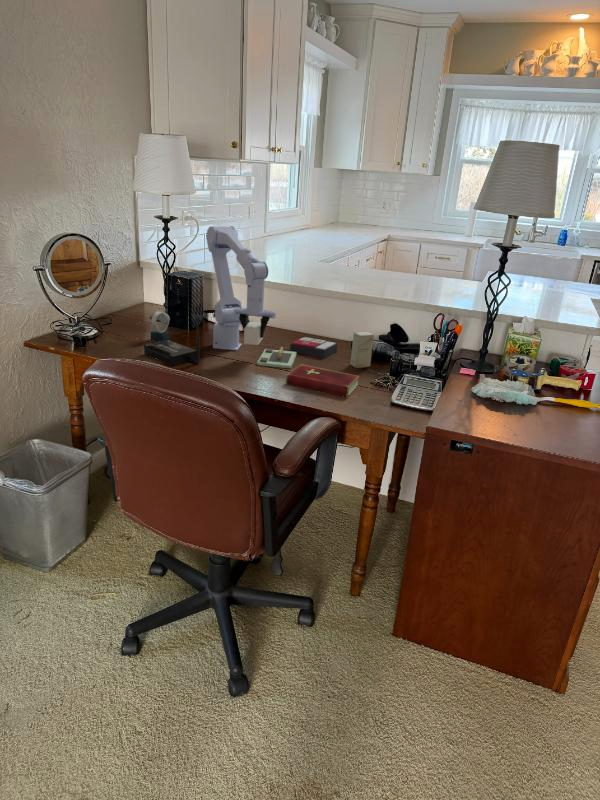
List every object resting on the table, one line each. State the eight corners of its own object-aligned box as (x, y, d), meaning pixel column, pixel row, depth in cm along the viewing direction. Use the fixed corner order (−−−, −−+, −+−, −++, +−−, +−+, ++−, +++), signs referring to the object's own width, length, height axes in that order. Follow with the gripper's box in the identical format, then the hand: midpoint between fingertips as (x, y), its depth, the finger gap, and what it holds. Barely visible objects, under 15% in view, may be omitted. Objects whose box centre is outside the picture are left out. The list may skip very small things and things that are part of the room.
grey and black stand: (140, 356, 197) (138, 308, 190) (172, 348, 207) (171, 303, 200) (176, 371, 185) (175, 321, 179) (208, 362, 195) (208, 315, 189)
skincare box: (356, 368, 199) (359, 335, 195) (349, 364, 203) (353, 332, 198) (370, 366, 202) (374, 334, 198) (363, 362, 206) (367, 330, 201)
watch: (172, 338, 217) (172, 311, 212) (159, 343, 210) (158, 315, 206) (160, 336, 219) (160, 308, 214) (147, 341, 212) (146, 312, 208)
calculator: (303, 336, 221) (337, 341, 214) (303, 346, 223) (337, 352, 216) (289, 342, 212) (324, 348, 205) (289, 353, 214) (324, 359, 207)
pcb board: (257, 365, 195) (257, 354, 194) (264, 351, 210) (265, 341, 208) (290, 368, 194) (291, 357, 193) (296, 354, 209) (297, 344, 208)
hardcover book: (347, 399, 173) (348, 386, 172) (285, 385, 180) (286, 373, 179) (358, 387, 184) (359, 375, 182) (299, 374, 191) (300, 363, 189)
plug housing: (243, 343, 193) (244, 327, 191) (249, 336, 201) (250, 321, 199) (258, 345, 192) (258, 329, 190) (263, 337, 201) (263, 322, 199)
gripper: (231, 298, 188) (231, 337, 193) (274, 302, 187) (272, 341, 192) (236, 294, 194) (235, 331, 200) (277, 298, 193) (275, 335, 198)
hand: (253, 336), depth 196 cm, fingers closed on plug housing, 5 cm apart
